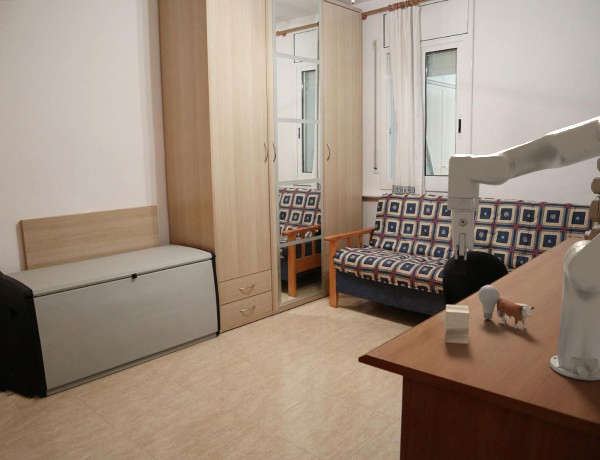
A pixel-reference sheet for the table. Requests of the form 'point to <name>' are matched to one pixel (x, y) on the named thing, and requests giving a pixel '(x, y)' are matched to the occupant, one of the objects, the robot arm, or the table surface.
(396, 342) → the table surface
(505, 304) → the bull figurine
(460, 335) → the birch block
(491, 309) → the lightbulb
